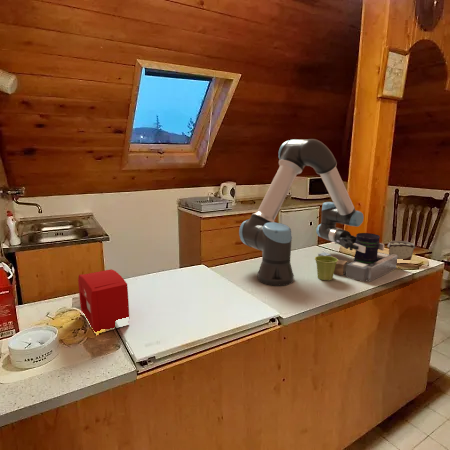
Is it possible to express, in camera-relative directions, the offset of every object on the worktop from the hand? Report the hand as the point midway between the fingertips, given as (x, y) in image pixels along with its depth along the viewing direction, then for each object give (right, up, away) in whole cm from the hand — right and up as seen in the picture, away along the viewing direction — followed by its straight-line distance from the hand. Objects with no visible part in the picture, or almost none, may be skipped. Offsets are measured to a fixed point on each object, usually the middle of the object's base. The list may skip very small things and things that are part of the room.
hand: (374, 248), depth 150 cm
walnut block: (-14, -11, +4) cm, 18 cm away
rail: (+4, -11, +2) cm, 12 cm away
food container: (+19, -8, +19) cm, 28 cm away
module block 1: (-8, -12, -2) cm, 14 cm away
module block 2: (+8, -9, +12) cm, 17 cm away
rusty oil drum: (-2, -9, +6) cm, 11 cm away
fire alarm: (-104, -21, -40) cm, 113 cm away
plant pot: (-22, -13, -3) cm, 26 cm away
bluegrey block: (-19, -9, +12) cm, 24 cm away
